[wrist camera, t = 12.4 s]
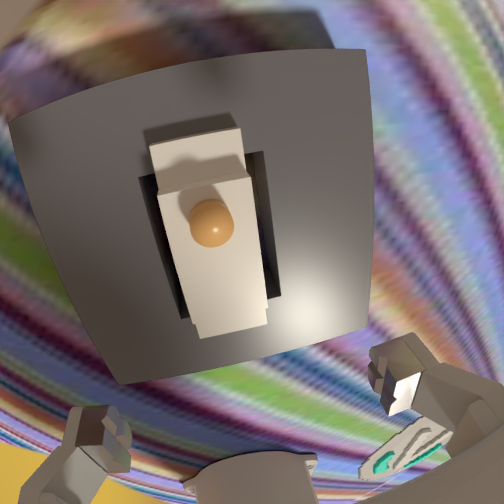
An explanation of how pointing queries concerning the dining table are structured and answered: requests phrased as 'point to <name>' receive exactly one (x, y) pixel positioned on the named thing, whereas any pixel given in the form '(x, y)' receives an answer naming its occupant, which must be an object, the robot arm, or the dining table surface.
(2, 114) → the dining table surface
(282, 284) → the grey board with hole
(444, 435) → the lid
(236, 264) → the servo
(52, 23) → the dining table surface
